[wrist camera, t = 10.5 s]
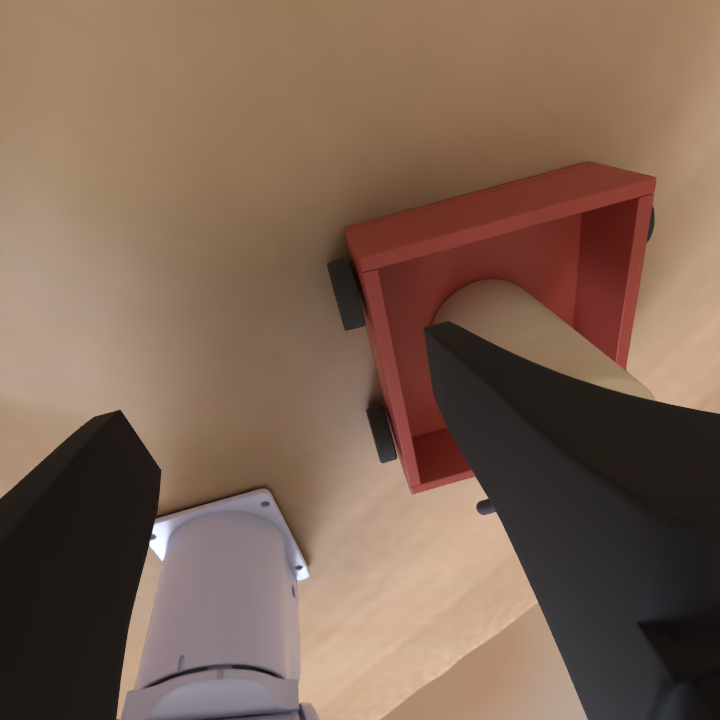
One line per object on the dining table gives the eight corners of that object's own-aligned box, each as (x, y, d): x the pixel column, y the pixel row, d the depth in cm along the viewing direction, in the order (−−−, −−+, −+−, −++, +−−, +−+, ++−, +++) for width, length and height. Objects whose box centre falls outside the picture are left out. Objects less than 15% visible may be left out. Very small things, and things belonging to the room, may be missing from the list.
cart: (571, 392, 26) (615, 436, 23) (393, 442, 26) (411, 495, 23) (589, 160, 19) (657, 176, 16) (343, 227, 19) (358, 257, 15)
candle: (514, 255, 20) (687, 374, 12) (544, 340, 23) (699, 485, 15) (410, 315, 21) (502, 467, 12) (451, 390, 24) (549, 554, 15)
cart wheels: (583, 440, 29) (617, 479, 26) (389, 496, 28) (402, 541, 26) (611, 175, 20) (669, 190, 17) (323, 253, 19) (332, 282, 16)
